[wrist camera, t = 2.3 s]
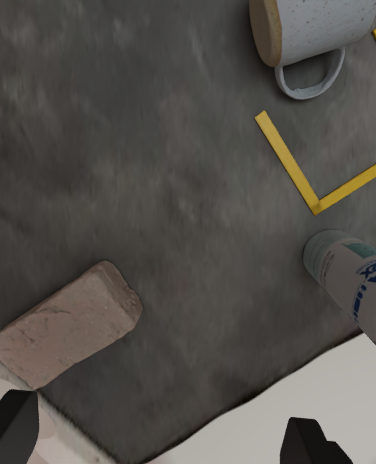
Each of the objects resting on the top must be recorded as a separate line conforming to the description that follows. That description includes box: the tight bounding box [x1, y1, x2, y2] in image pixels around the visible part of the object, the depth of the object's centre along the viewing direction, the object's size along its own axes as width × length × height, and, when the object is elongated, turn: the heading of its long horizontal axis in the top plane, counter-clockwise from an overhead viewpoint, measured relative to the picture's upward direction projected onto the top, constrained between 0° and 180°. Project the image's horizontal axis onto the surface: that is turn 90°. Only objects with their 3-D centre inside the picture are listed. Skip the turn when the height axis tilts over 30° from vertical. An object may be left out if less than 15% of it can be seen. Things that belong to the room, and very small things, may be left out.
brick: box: [0, 260, 143, 390], centre depth 34 cm, size 17×8×5 cm, turn 125°
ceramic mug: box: [249, 0, 376, 100], centre depth 24 cm, size 11×8×8 cm
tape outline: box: [255, 29, 376, 215], centre depth 30 cm, size 13×14×1 cm
